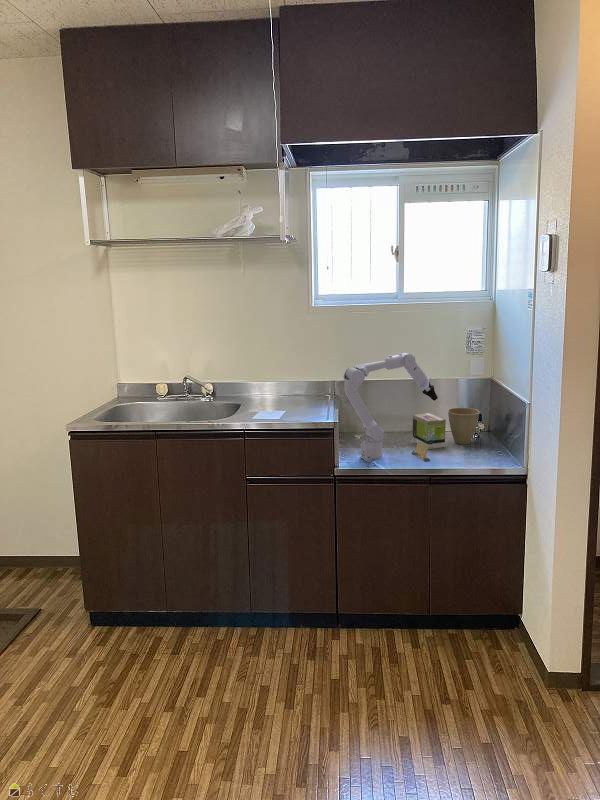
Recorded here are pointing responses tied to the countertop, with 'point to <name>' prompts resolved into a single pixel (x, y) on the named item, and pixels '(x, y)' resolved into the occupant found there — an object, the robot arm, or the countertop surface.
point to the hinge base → (424, 458)
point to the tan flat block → (421, 450)
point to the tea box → (429, 430)
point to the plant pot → (463, 424)
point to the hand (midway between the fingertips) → (434, 396)
